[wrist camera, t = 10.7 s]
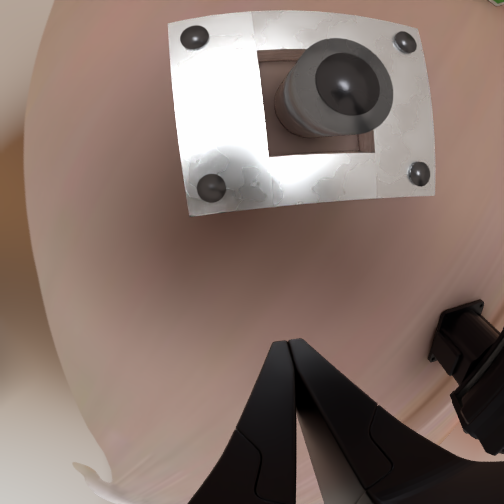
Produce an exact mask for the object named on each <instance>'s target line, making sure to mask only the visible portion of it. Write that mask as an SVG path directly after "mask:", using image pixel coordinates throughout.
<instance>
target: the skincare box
mask: <svg viewBox="0 0 504 504" xmlns="http://www.w3.org/2000/svg"><path fill="white" fill-rule="evenodd" d="M489 1H490V2H491V3H492V4H494V5H495V6H500V5H504V0H489Z"/></svg>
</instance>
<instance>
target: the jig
mask: <svg viewBox="0 0 504 504" xmlns="http://www.w3.org/2000/svg"><path fill="white" fill-rule="evenodd" d="M168 34H169V50H170V64H171V76H172V87H173V97H174V107H175V116H176V125H177V133H178V141H179V149H180V157H181V164H182V171H183V178H184V185H185V191H186V198H187V204H188V210H189V216H190V217H193V216H201V215H209V214H216V213H225V212H233V211H241V210H250V209H259V208H268V207H278V206H288V205H298V204H309V203H321V202H333V201H346V200H360V199H375V198H392V197H413V196H435V140H434V124H433V113H432V103H431V95H430V88H429V81H428V75H427V69H426V64H425V58H424V53H423V49H422V44H421V40H420V36H419V32H418V29H417V28H413V27H409V26H406V25H402V24H397V23H393V22H388V21H384V20H379V19H373V18H368V17H362V16H355V15H347V14H339V13H329V12H316V11H290V10H276V11H251V12H237V13H227V14H219V15H211V16H205V17H198V18H193V19H187V20H182V21H177V22H172V23H168ZM329 38H342V39H348V40H352V41H354V42H357V43H359V44H361V45H363V46H365V47H366V48H368V49H369V50H371V51H372V52H373V53H374V54H375V55H376V56H377V57H378V58H379V59H380V60H381V62H382V63H383V64H384V66H385V67H386V69H387V71H388V73H389V75H390V78H391V81H392V86H393V103H392V107H391V110H390V113H389V115H388V116H387V118H386V119H385V121H384V122H383V123H382V124H381V125H380V126H378V127H377V128H376V129H374V130H372V131H370V132H367V133H363V134H358V136H359V150H360V151H349V152H319V153H301V154H287V155H274V156H269V154H268V145H267V135H266V126H265V117H264V108H263V99H262V91H261V83H260V75H259V67H258V62H260V61H280V60H299V58H300V57H301V55H302V54H303V53H304V52H305V50H306V49H307V48H309V47H310V46H311V45H313V44H314V43H316V42H318V41H321V40H324V39H329Z"/></svg>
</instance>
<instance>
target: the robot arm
mask: <svg viewBox="0 0 504 504" xmlns="http://www.w3.org/2000/svg"><path fill="white" fill-rule="evenodd" d="M483 306H484V302H483V301H482V300H479V301H476V302H473V303H470V304H466V305H463V306H460V307H457V308H454V309H450V310H447V311H444V312H443V313H442V315H441V317H440V321H439V325H438V328H437V332H436V335H435V338H434V342H433V345H432V348H431V351H430V354H429V357H428V360H429V361H430V362H434V361H437V360H438V361H439V363H440V364H441V365H442V367H443V368H444V369H445V371H446V372H447V374H448V375H449V376H451V375H452V376H453V377H454V379H455V380H456V381H457V383H458V384H459V387H458V388H457V389H456V390H455V391H453V392H452V393H451V394H450V397H451V399H452V403H453V406H454V408H455V410H456V413H457V415H458V418H459V420H460V423H461V425H462V428H463V431H464V432H465V433H466V434H470V435H471V436H472V437H473V438H475V439H479V441H480V443H481V444H482V446H483V448H484V450H485V451H486V452H487V453H489V454H491V455H494V456H495V455H497V454H498V453H501V454H504V328H503V330H502V332H501V333H500V332H499V331H498V330H497V329H496V328H495V327H493V326H492V325H491V324H490V323H489V322H488V321H487V320H486V319H485V318H484V317H483V316H482V315H481V313H482V310H483ZM296 413H297V416H298V420H299V423H300V426H301V430H302V433H303V436H304V439H305V443H306V446H307V449H308V452H309V456H310V459H311V462H312V465H313V469H314V472H315V475H316V478H317V481H318V485H319V488H320V491H321V494H322V498H323V501H324V504H504V461H503V462H502V461H500V462H477V461H471V460H467V459H464V458H461V457H458V456H456V455H454V454H452V453H451V452H449V451H447V450H445V449H443V448H442V447H440V446H438V445H437V444H435V443H433V442H431V441H430V440H428V439H426V438H425V437H423V436H421V435H420V434H418V433H416V432H415V431H413V430H412V429H410V428H409V427H407V426H406V425H404V424H403V423H401V422H400V421H399V420H397V419H396V418H395V417H394V416H392V415H391V414H390V413H388V412H387V411H386V410H385V409H384V408H382V407H381V406H380V405H378V406H377V403H376V402H375V401H374V400H373V399H371V398H370V397H369V396H368V395H367V394H366V393H364V392H363V391H362V390H361V389H360V388H358V387H357V386H356V385H355V384H354V383H353V382H351V381H350V380H349V379H348V378H347V377H346V376H344V375H343V374H342V373H341V372H340V371H339V370H337V369H336V368H335V367H334V366H333V365H332V364H331V363H329V362H328V361H327V360H326V359H325V358H324V357H323V356H321V355H320V354H319V353H318V352H317V351H316V350H315V349H313V348H312V347H311V346H310V345H309V344H308V343H307V342H306V341H304V340H303V339H301V338H299V339H291V340H289V341H288V342H287V341H285V340H284V341H276V342H273V343H272V345H271V347H270V350H269V352H268V355H267V357H266V359H265V362H264V364H263V367H262V369H261V371H260V374H259V376H258V378H257V381H256V383H255V385H254V388H253V390H252V392H251V395H250V397H249V399H248V401H247V404H246V406H245V408H244V410H243V413H242V415H241V417H240V419H239V421H238V424H237V426H236V430H234V432H233V434H232V436H231V438H230V440H229V442H228V444H227V446H226V448H225V450H224V452H223V454H222V456H221V457H220V459H219V460H218V462H217V464H216V465H215V467H214V468H213V470H212V471H211V473H210V474H209V476H208V477H207V478H206V480H205V481H204V482H203V484H202V485H201V487H200V488H199V489H198V491H197V492H196V493H195V494H194V496H193V497H192V498H191V500H190V501H189V502H188V504H296Z"/></svg>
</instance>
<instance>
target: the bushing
mask: <svg viewBox="0 0 504 504" xmlns="http://www.w3.org/2000/svg"><path fill="white" fill-rule="evenodd" d="M392 103H393V86H392V81H391V78H390V75H389V73H388V71H387V69H386V67H385V66H384V64H383V63H382V62H381V60H380V59H379V58H378V57H377V56H376V55H375V54H374V53H373V52H372V51H371V50H369V49H368V48H366V47H365V46H363V45H361V44H359V43H357V42H354V41H352V40H348V39H342V38H329V39H324V40H321V41H318V42H316V43H314V44H313V45H311V46H310V47H309V48H307V49H306V50H305V52H304V53H303V54H302V55H301V57H300V58H299V60H298V61H297V62H296V64H295V65H294V67H293V68H292V69H291V71H290V72H289V74H288V75H287V77H286V78H285V79H284V81H283V82H282V84H281V85H280V87H279V88H278V90H277V92H276V95H275V102H274V104H275V111H276V114H277V117H278V119H279V120H280V122H281V123H282V125H283V126H284V127H285V128H286V129H287V130H289V131H290V132H292V133H293V134H295V135H298V136H301V137H305V138H316V137H327V136H340V135H355V134H363V133H367V132H370V131H372V130H374V129H376V128H377V127H378V126H380V125H381V124H382V123H383V122H384V121H385V119H386V118H387V116H388V115H389V113H390V110H391V107H392Z"/></svg>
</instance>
